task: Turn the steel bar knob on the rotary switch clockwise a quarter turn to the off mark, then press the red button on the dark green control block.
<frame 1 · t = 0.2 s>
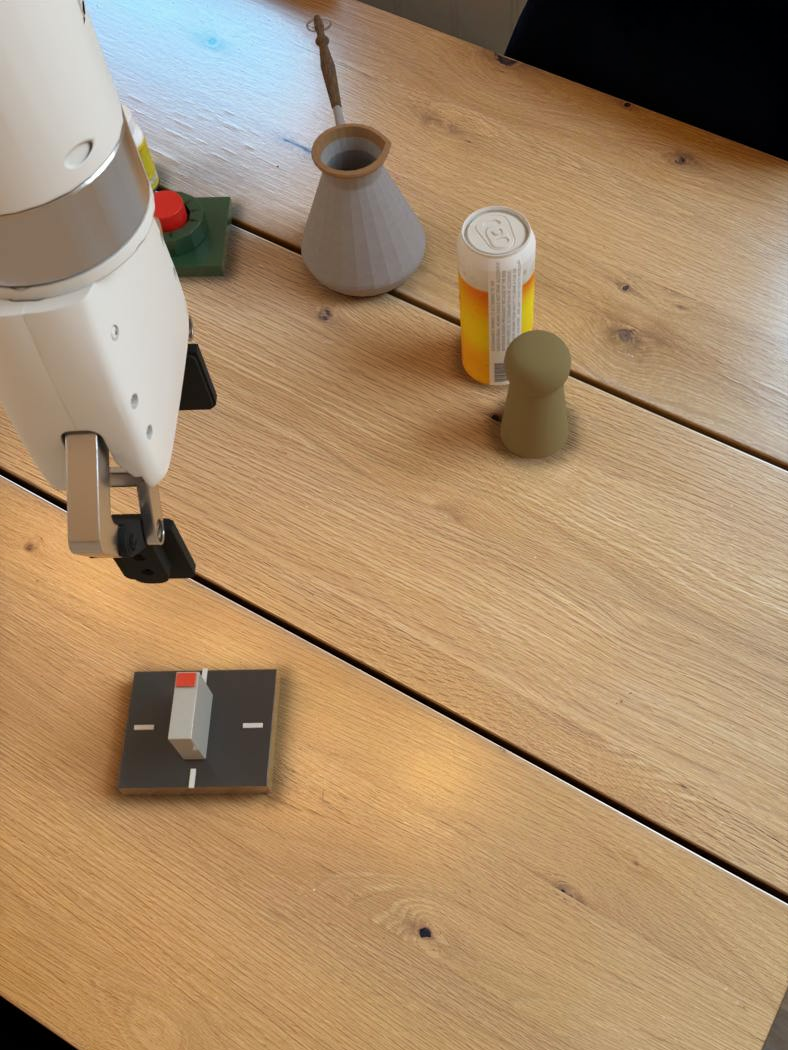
hand: (174, 485, 50), 31 cm above the table, tool pointing down, fingers open, 9 cm apart
supplement bottle: (138, 193, 104), on the table
hob knob: (190, 715, 73), point 5 cm above the table, hinge at 90.0°
rotary switch: (207, 739, 78), on the table
control block: (178, 249, 100), on the table
olive pawn: (533, 439, 90), on the table
coffee pot: (358, 232, 101), on the table
power button: (165, 211, 96), point 4 cm above the table, slide at 0.1 cm
beer can: (496, 367, 93), on the table
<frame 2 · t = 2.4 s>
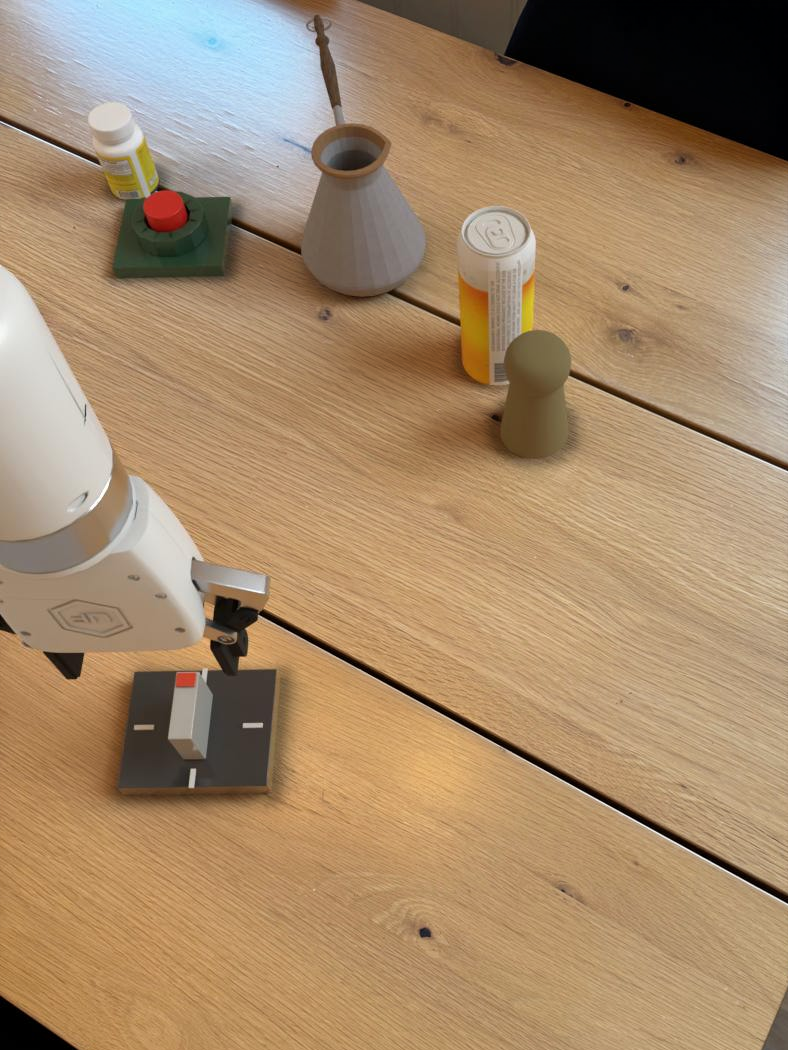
hand: (156, 656, 65), 14 cm above the table, tool pointing down, fingers open, 9 cm apart
nothing on the table moved.
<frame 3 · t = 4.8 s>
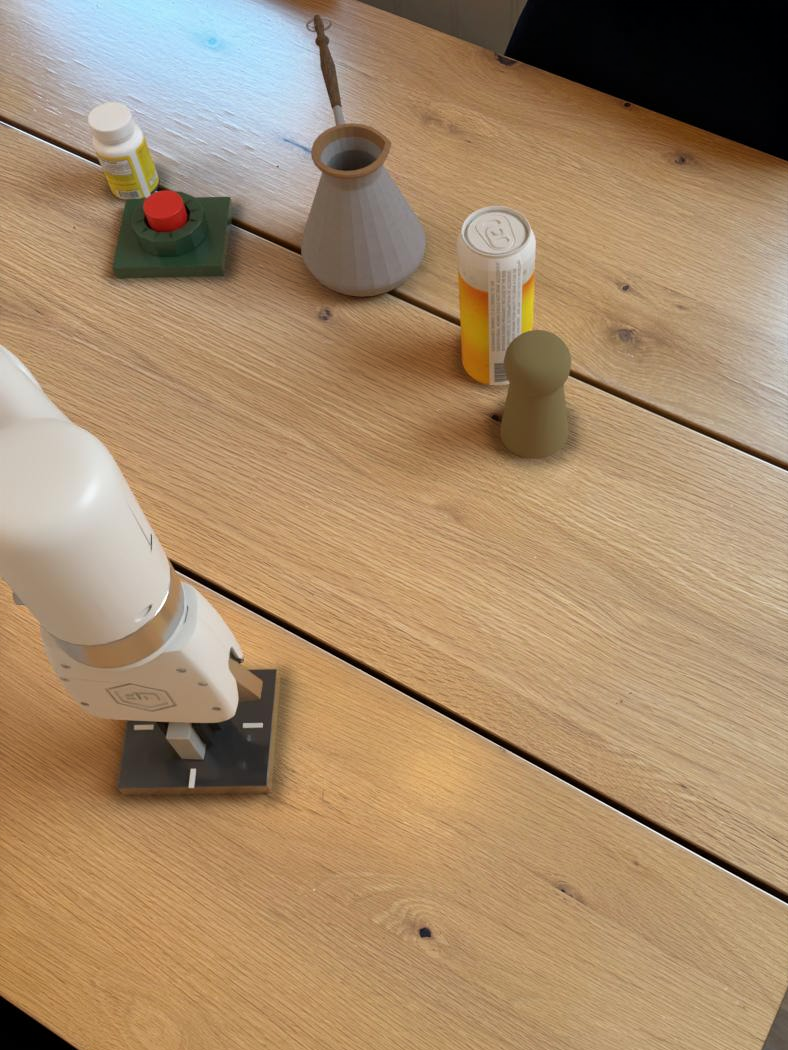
hand: (197, 724, 75), 3 cm above the table, tool pointing down, fingers closed on hob knob
hob knob: (190, 715, 73), point 5 cm above the table, hinge at 86.6°, touching gripper
everything else where it was.
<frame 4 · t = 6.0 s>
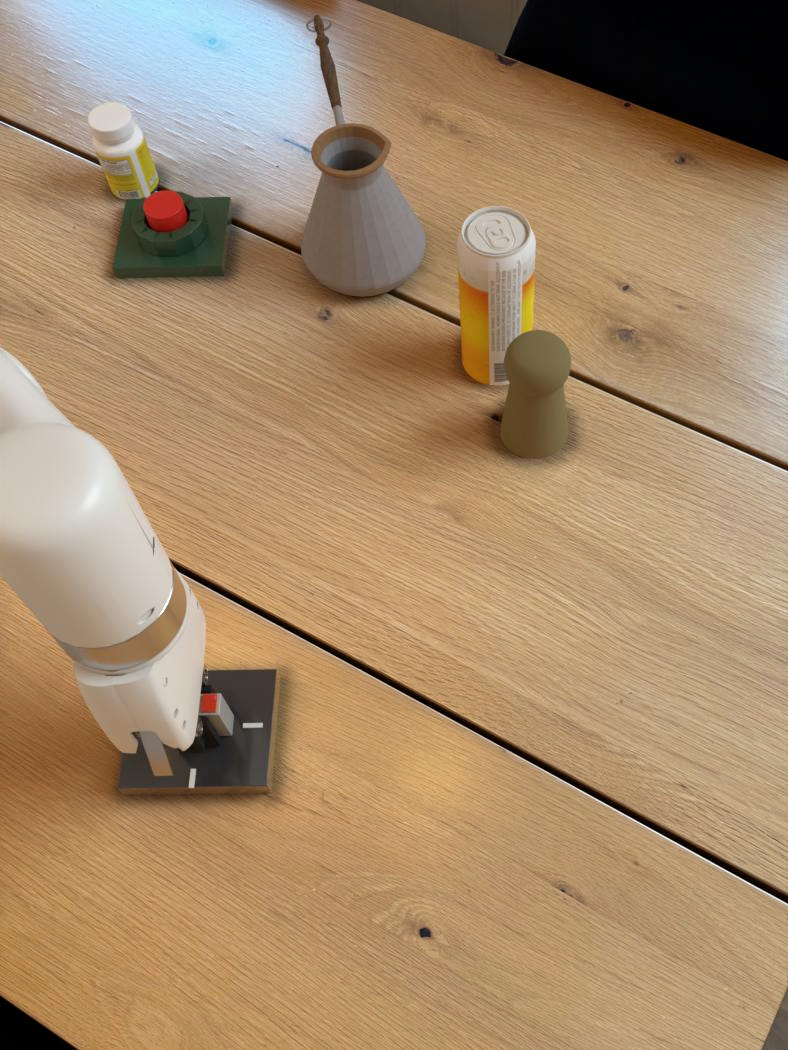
hand: (200, 727, 75), 3 cm above the table, tool pointing down, fingers closed, pressing on hob knob
hob knob: (190, 715, 73), point 5 cm above the table, hinge at 0.7°, touching gripper
everything else where it was.
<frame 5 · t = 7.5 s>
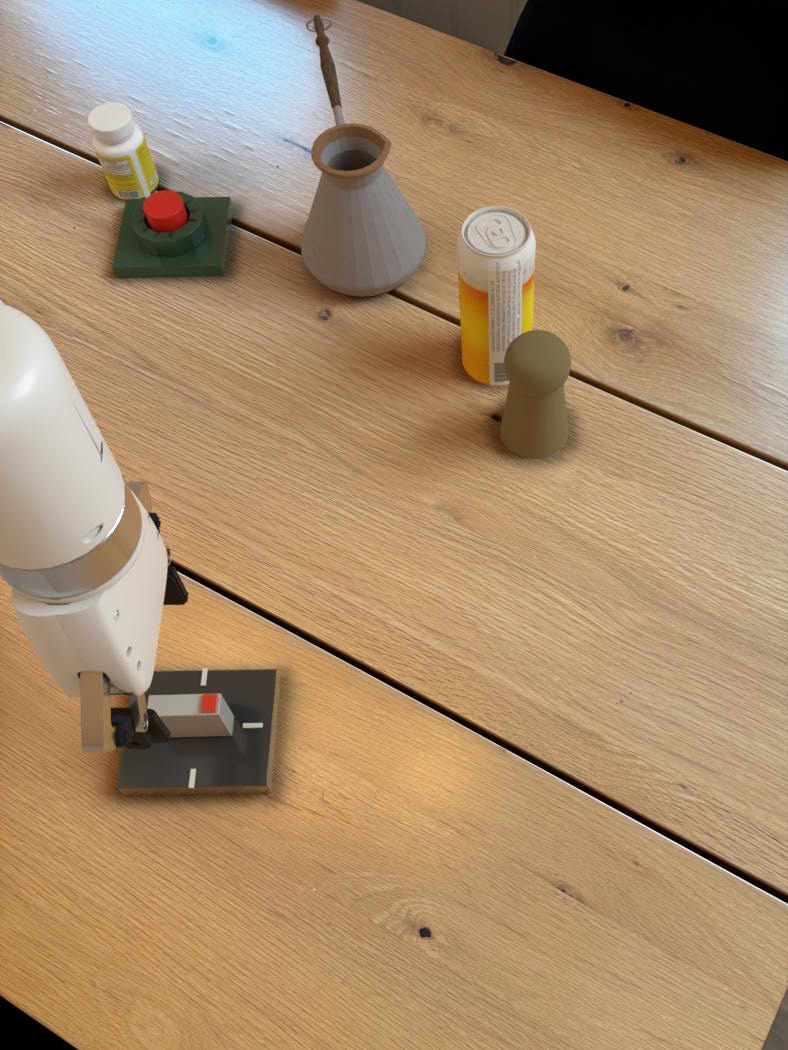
hand: (155, 667, 67), 12 cm above the table, tool pointing down, fingers open, 9 cm apart
hob knob: (190, 715, 73), point 5 cm above the table, hinge at 0.6°
everything else where it was.
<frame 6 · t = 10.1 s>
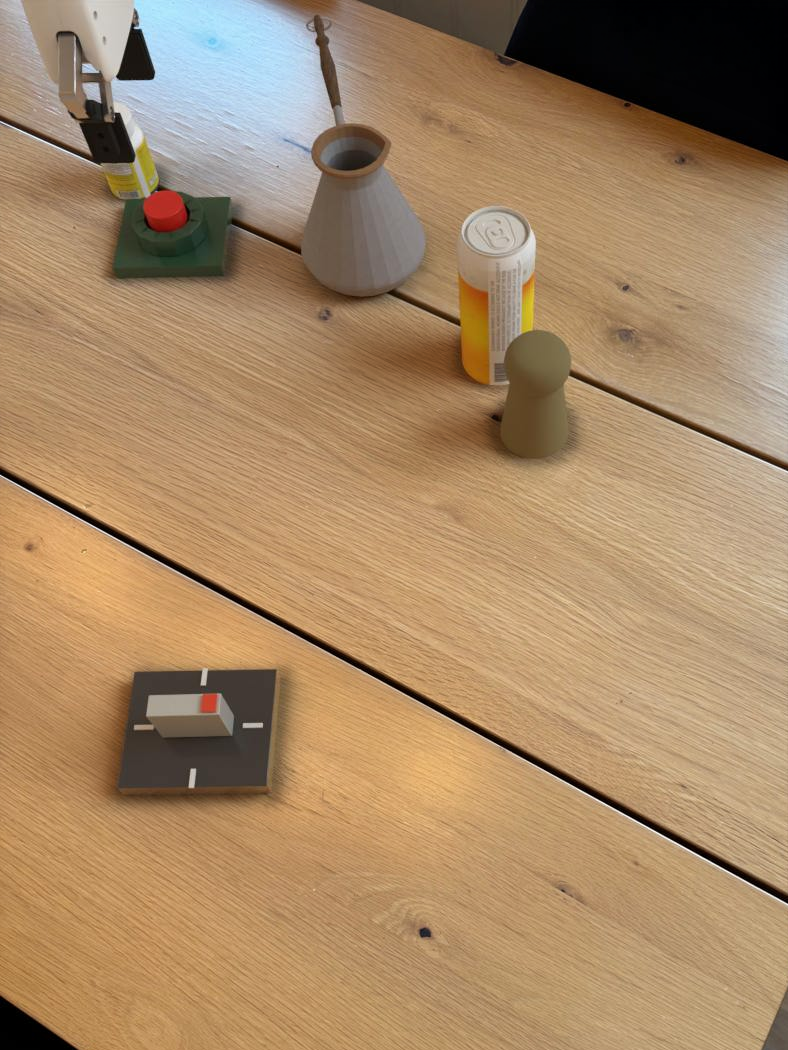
hand: (126, 118, 84), 17 cm above the table, tool pointing down, fingers open, 9 cm apart
nothing on the table moved.
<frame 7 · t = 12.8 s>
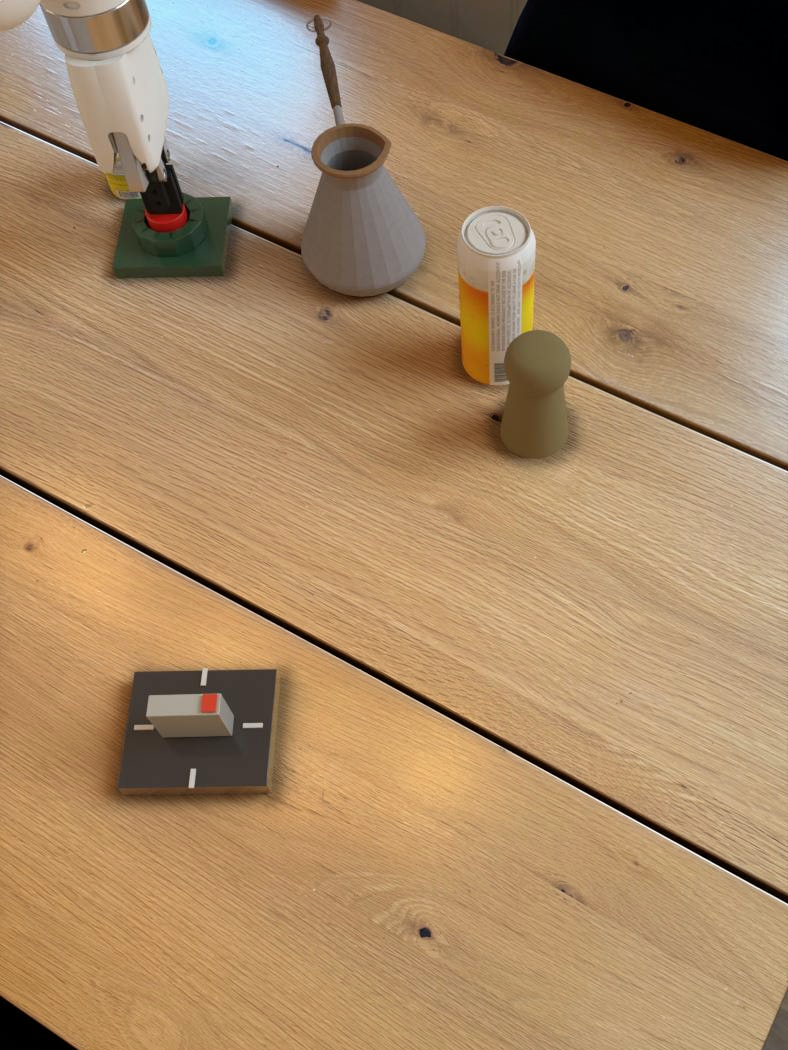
hand: (166, 207, 96), 5 cm above the table, tool pointing down, fingers closed
power button: (167, 216, 97), point 4 cm above the table, slide at -0.5 cm, touching gripper
everything else where it was.
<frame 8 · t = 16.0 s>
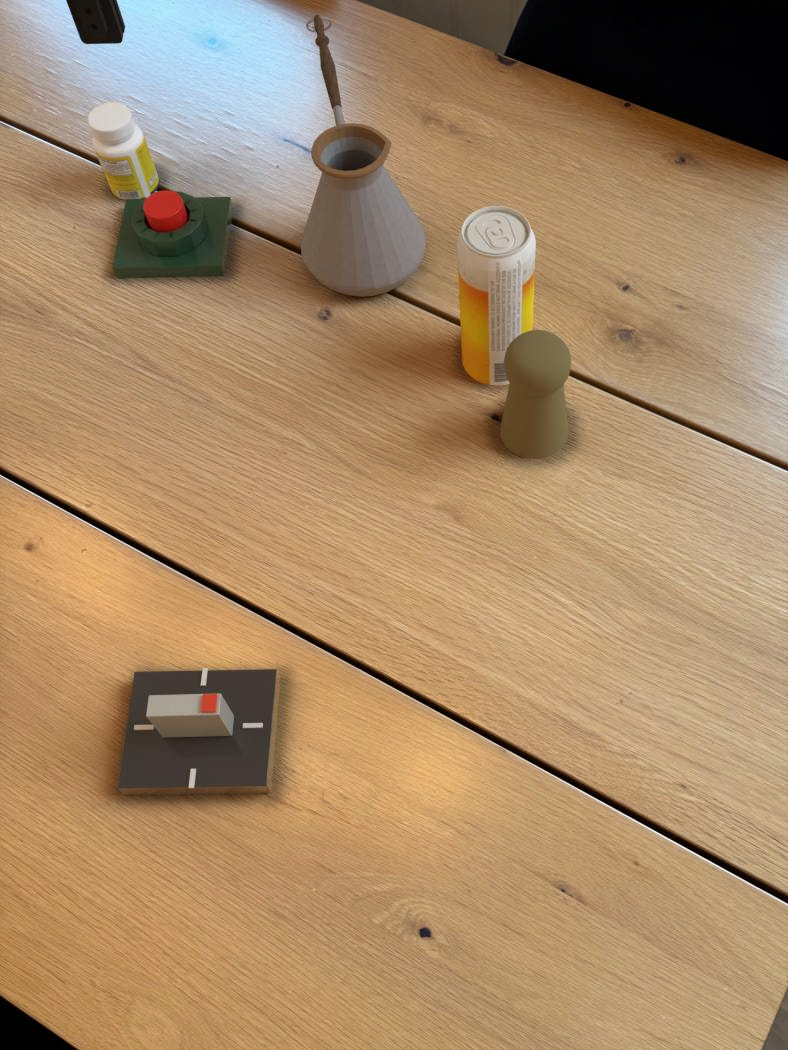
hand: (104, 36, 81), 21 cm above the table, tool pointing down, fingers closed
power button: (165, 211, 96), point 4 cm above the table, slide at 0.1 cm
everything else where it was.
at the end: hob knob at +1° (first picture: +90°); power button pushed in 1.1 cm at the most during the clip, back to where it started at the end; power button slide at 0.1 cm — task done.
